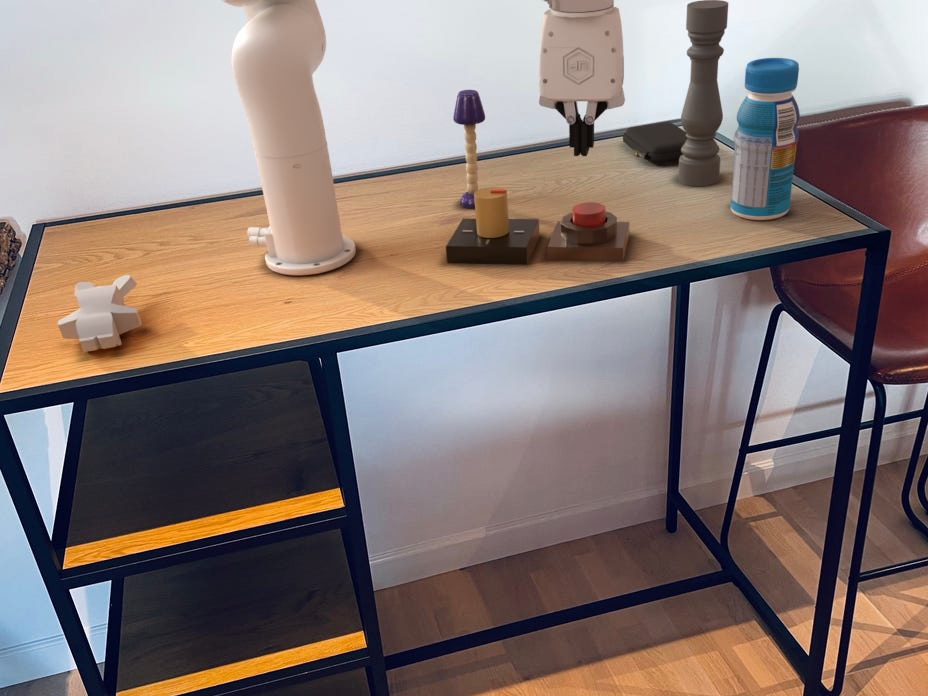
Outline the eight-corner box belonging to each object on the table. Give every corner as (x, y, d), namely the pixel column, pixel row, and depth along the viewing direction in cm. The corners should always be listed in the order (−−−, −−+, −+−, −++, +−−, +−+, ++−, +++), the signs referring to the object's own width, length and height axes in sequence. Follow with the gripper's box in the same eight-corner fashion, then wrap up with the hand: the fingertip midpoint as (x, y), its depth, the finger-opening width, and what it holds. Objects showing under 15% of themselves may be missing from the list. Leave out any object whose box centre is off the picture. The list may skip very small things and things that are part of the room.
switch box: (547, 260, 132) (546, 232, 130) (557, 234, 139) (557, 207, 137) (622, 262, 130) (623, 233, 127) (629, 235, 137) (629, 207, 135)
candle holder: (688, 189, 150) (697, 10, 135) (671, 176, 155) (677, 3, 140) (726, 182, 151) (738, 4, 136) (707, 170, 156) (717, -3, 141)
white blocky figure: (50, 334, 116) (61, 270, 127) (64, 369, 119) (74, 304, 130) (132, 320, 117) (136, 259, 128) (144, 356, 120) (147, 293, 131)
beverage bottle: (727, 221, 138) (738, 72, 127) (730, 199, 145) (740, 56, 133) (790, 222, 136) (807, 70, 125) (790, 200, 143) (805, 54, 131)
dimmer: (447, 263, 134) (445, 245, 132) (464, 234, 142) (462, 217, 140) (527, 265, 131) (526, 246, 130) (539, 235, 139) (539, 217, 138)
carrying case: (612, 144, 170) (645, 170, 158) (613, 126, 168) (645, 151, 156) (671, 135, 171) (707, 160, 159) (671, 117, 169) (708, 141, 158)
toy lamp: (492, 198, 153) (484, 86, 143) (489, 209, 149) (481, 95, 139) (461, 199, 153) (452, 88, 144) (458, 210, 150) (448, 97, 140)
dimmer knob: (474, 238, 134) (471, 196, 130) (479, 225, 137) (476, 185, 134) (506, 238, 133) (504, 196, 129) (511, 225, 136) (508, 184, 133)
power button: (570, 229, 131) (569, 214, 130) (574, 216, 135) (574, 201, 133) (603, 229, 130) (603, 214, 129) (607, 216, 134) (607, 202, 132)
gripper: (513, 5, 115) (519, 161, 126) (642, 3, 112) (637, 163, 123) (525, -7, 121) (529, 143, 132) (648, -10, 118) (642, 144, 129)
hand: (581, 152), depth 127 cm, fingers closed
